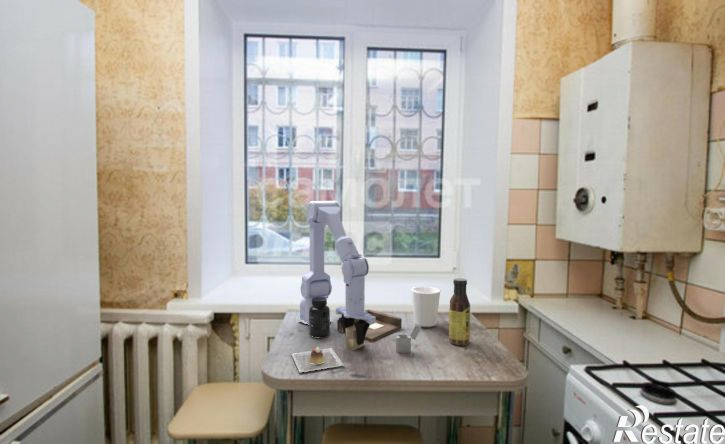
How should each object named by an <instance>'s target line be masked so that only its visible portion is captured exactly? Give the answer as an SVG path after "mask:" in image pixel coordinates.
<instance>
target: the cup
mask: <svg viewBox="0 0 725 444" xmlns="http://www.w3.org/2000/svg"><path fill="white" fill-rule="evenodd" d="M411 297H412V298H411V301H412V302H411V303H412V310H413V311H412V312H413V322H414V325H416V324H418V325H420V326H421V328H423V329H424V330H427V329H429V328H432V329H433V328H436V326H437V322H438V314H439V304H440V297H441V290H440V289H439V288H437V287H434V286H426V285H424V286H414V287H412V289H411Z"/></svg>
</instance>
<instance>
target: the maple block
mask: <svg viewBox="0 0 725 444" xmlns="http://www.w3.org/2000/svg"><path fill="white" fill-rule="evenodd" d="M363 346H365V342H364V343H363V344H361V345H358V344H357V333H356V328H355V325H353V326H350V327H348V328H346V337H345V349H347V350H351V351H355V350H357V349H359V348H362V347H363Z"/></svg>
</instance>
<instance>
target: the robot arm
mask: <svg viewBox="0 0 725 444" xmlns="http://www.w3.org/2000/svg"><path fill="white" fill-rule="evenodd" d="M306 224H307V225H309V271H308V272H307V273H306V274H304V275H303V276H302V277H301V278H302V279H301V285H300V293H301V296H302V298H301V301H300V303H299V320H300V319H301V320H304V321H305V322H307V323H308V324H309V308H310V307H311V306H313V305H312V298H314V297H325V298H327V299H329V296H330V295H331V293H332V291H333V290H332V289H333V285H332V281H331V276H330V275H329V274H328V273H327V272H326V271H325V227H326V226H327V227H328V229H329V230H330V231H329V232H331V234H332V236H333V237H334V239H335V241H336V242H335V244H334V245H335V246H334V247H335V249H336V251H337V254H338V256H339V259H340V261H341V263H342V266H341V267H340V268H341V273H342V276H343V282H344V283H345V307H343V306H338V307H335V315H341V317H339V318H338V320H339V322H340V323H341V325H342V327H343V330H344V332H343V333H344V338H346V328H348V327H350V326H353V325H355V328H356V333H357V344H358V345H361V344H363V343H364V344H365V340H364V339H365V336H366V333H367V330H368V328H369V326H370V325H372V324H374V323H376V317H375V316H372V315H370V314H369V313H367V312H365V301H366V298H365V295H366V294H365V281H366V279H365V278H366V276H367V275H368V274H369V270H370V266H369V262H368V259H367V258H366V257H364V256H363V255H362V254H361V253H359V251H358V249H357V247H356V245H355V243H354V240H353V239H352V238H351V237H349V236H348V235H347V233H346V231H345V227H344V226H343V223H342V220H341V206H340V204H339V203H338V201H337V200H318V201H317V200H316V201H315V200H311V201H309V202H308V204H307V206H306ZM355 319H357V320H359V321H358V322H355V323H354V321H355ZM330 322H331V323H333V321H332V320H330Z"/></svg>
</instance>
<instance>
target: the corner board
mask: <svg viewBox="0 0 725 444" xmlns="http://www.w3.org/2000/svg"><path fill="white" fill-rule="evenodd" d="M364 311H365V312H367V313H369V314H370V315H372V316H375V317H376V323H374V324H372V325H370V326H369V328H368V330H367V333H366V336H365V339H364V341H366V342H367V341H368V342H369V343H370V342H374V341H376V340H379V339H381V338H383V337H385V336H387V335H390V334H392V333H395V332H397V331H399V330H401V329H402V321H403V320H402V317H397V316H394V315H391V314H387V313H383V312H380V311H377V310H372V309H369V308H367V309H364ZM358 321H359V320H357V319H355V321H354V323H355V322H358ZM336 322H337V326H336V327H337V328H336V329H338V330H340V331H339V332H341V331H343V332H342V333H344V330H343V327H342V325H341V323H340V322H339V319H337V321H336ZM338 330H337V331H338Z"/></svg>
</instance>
